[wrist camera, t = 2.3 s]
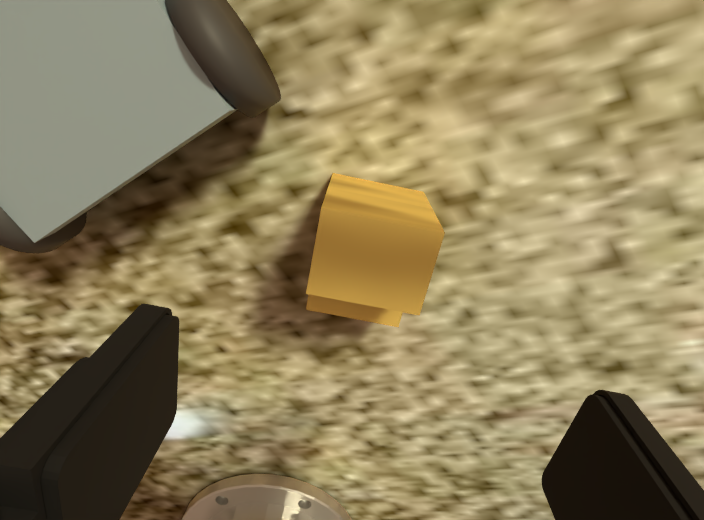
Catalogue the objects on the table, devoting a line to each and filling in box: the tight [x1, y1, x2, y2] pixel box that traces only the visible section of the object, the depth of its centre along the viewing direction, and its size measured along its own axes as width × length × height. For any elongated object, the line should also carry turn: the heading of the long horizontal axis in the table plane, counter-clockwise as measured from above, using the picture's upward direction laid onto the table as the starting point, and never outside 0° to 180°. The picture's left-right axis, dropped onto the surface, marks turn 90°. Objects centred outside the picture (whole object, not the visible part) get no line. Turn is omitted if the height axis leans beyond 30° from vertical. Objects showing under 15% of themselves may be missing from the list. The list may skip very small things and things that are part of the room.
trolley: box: [0, 0, 281, 253], centre depth 14 cm, size 12×13×10 cm
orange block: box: [306, 173, 445, 327], centre depth 19 cm, size 6×4×6 cm
